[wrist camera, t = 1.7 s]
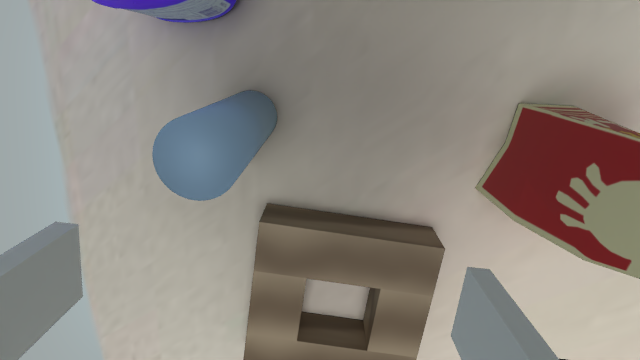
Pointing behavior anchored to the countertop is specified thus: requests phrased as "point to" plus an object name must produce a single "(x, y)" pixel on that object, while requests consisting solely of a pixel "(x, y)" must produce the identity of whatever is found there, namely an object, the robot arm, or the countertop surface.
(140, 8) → the bottle
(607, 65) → the countertop surface
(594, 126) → the milk carton
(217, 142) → the peg
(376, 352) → the socket block
